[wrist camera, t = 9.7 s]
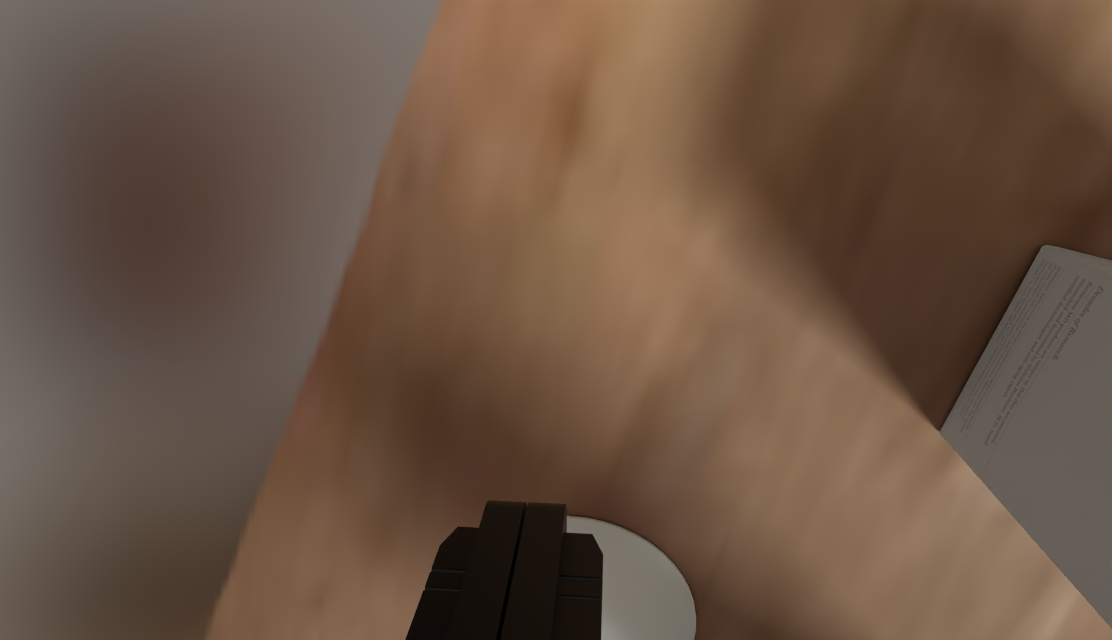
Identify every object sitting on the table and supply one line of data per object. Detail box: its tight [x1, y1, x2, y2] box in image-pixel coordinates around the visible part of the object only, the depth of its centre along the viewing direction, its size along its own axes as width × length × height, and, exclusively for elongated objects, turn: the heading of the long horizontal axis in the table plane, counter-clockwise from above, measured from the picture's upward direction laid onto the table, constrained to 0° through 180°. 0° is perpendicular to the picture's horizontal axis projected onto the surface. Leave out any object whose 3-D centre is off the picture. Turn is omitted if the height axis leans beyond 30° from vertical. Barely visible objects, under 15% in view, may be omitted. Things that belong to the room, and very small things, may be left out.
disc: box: [567, 515, 696, 640], centre depth 33 cm, size 13×13×1 cm
